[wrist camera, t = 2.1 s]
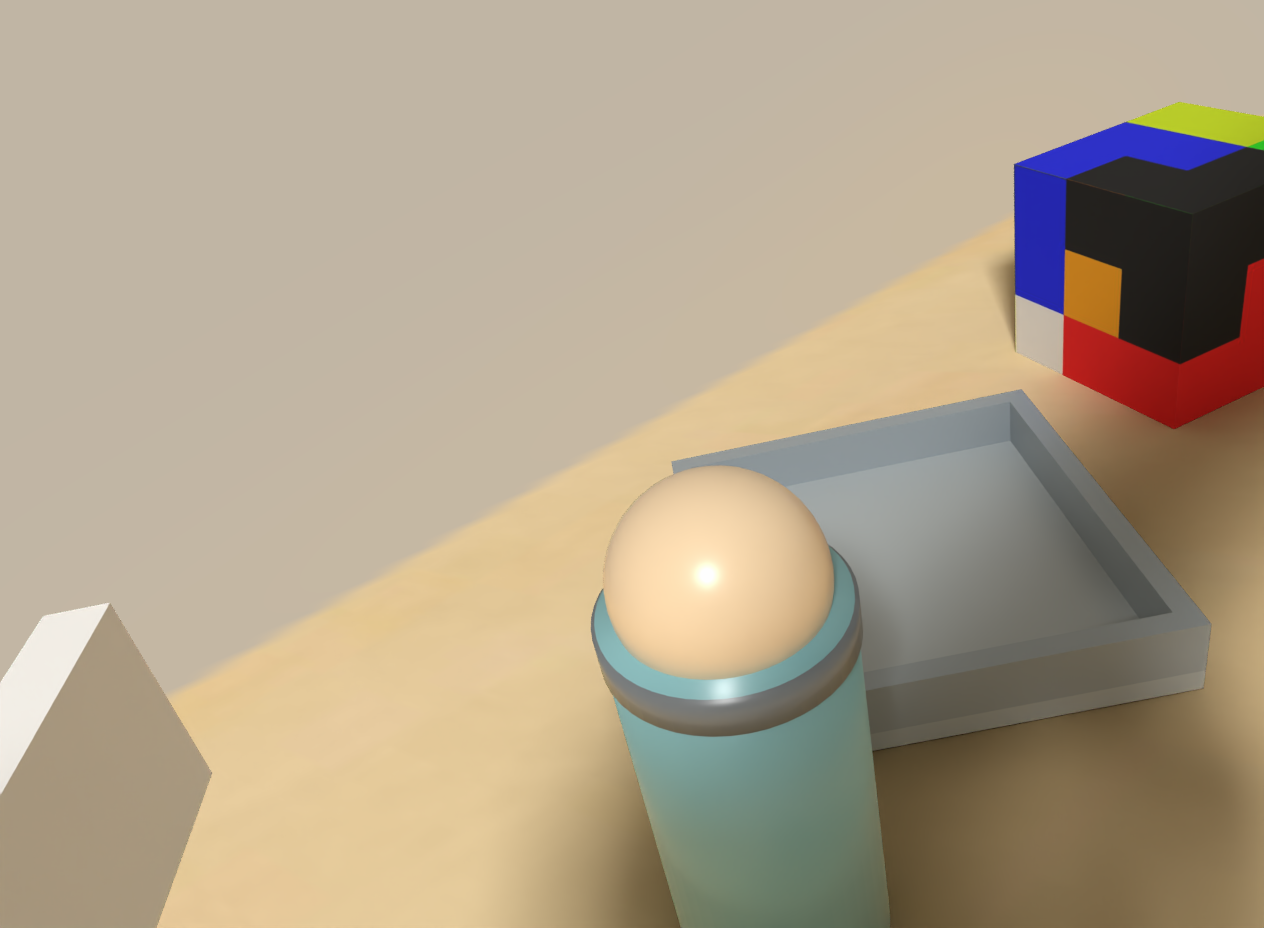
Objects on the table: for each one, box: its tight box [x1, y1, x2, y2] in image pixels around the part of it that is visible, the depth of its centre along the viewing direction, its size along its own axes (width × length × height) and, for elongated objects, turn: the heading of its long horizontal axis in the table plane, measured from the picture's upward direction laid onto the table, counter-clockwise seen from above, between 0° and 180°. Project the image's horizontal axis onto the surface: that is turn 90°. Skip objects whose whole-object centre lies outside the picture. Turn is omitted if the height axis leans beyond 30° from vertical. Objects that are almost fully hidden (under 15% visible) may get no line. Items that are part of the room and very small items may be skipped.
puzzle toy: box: [1014, 102, 1264, 429], centre depth 49 cm, size 10×10×10 cm
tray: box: [672, 389, 1211, 751], centre depth 40 cm, size 16×16×3 cm
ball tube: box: [591, 465, 891, 928], centre depth 26 cm, size 6×6×15 cm
